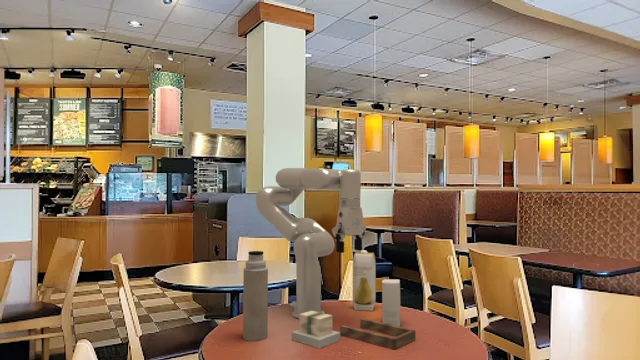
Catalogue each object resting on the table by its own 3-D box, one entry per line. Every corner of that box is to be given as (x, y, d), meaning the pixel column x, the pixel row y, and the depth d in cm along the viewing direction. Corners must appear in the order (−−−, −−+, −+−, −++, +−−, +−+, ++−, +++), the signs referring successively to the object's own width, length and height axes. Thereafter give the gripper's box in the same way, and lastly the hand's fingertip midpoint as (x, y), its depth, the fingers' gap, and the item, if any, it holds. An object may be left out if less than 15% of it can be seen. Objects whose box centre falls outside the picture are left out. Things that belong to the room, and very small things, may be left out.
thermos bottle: (250, 332, 150) (250, 249, 151) (271, 334, 148) (272, 250, 149) (238, 339, 143) (239, 252, 144) (260, 342, 140) (261, 253, 141)
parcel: (299, 331, 143) (299, 313, 144) (311, 327, 148) (311, 310, 148) (319, 337, 137) (319, 319, 138) (332, 332, 142) (332, 315, 142)
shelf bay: (340, 335, 148) (340, 325, 148) (362, 326, 157) (362, 318, 157) (394, 349, 134) (394, 339, 134) (415, 339, 143) (415, 330, 143)
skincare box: (400, 327, 156) (400, 283, 157) (381, 326, 157) (381, 282, 158) (400, 321, 164) (400, 278, 165) (382, 320, 166) (382, 278, 166)
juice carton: (352, 310, 179) (352, 251, 180) (353, 305, 187) (353, 248, 188) (375, 311, 178) (375, 251, 179) (376, 306, 186) (375, 249, 186)
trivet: (291, 339, 143) (291, 331, 143) (312, 332, 150) (312, 325, 150) (319, 348, 135) (319, 340, 135) (340, 340, 142) (340, 332, 142)
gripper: (341, 204, 151) (340, 254, 150) (373, 203, 163) (372, 250, 163) (325, 203, 156) (325, 252, 156) (357, 203, 168) (357, 248, 168)
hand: (349, 251), depth 159 cm, fingers open, 9 cm apart
